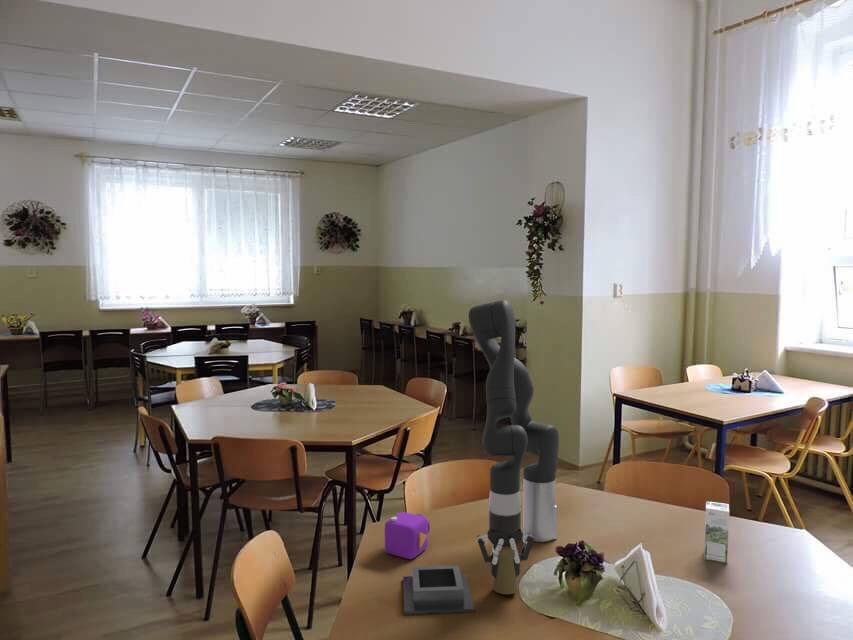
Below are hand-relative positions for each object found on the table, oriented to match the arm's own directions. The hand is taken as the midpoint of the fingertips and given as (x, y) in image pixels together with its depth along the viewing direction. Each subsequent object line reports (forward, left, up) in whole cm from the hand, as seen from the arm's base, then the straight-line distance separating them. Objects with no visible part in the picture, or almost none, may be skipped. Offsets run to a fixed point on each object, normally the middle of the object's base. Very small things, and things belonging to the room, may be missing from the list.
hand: (505, 576), depth 151 cm
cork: (0, 0, -3) cm, 3 cm away
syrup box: (-60, -14, -4) cm, 61 cm away
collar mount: (+16, 0, -4) cm, 17 cm away
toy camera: (+22, -25, -4) cm, 34 cm away
